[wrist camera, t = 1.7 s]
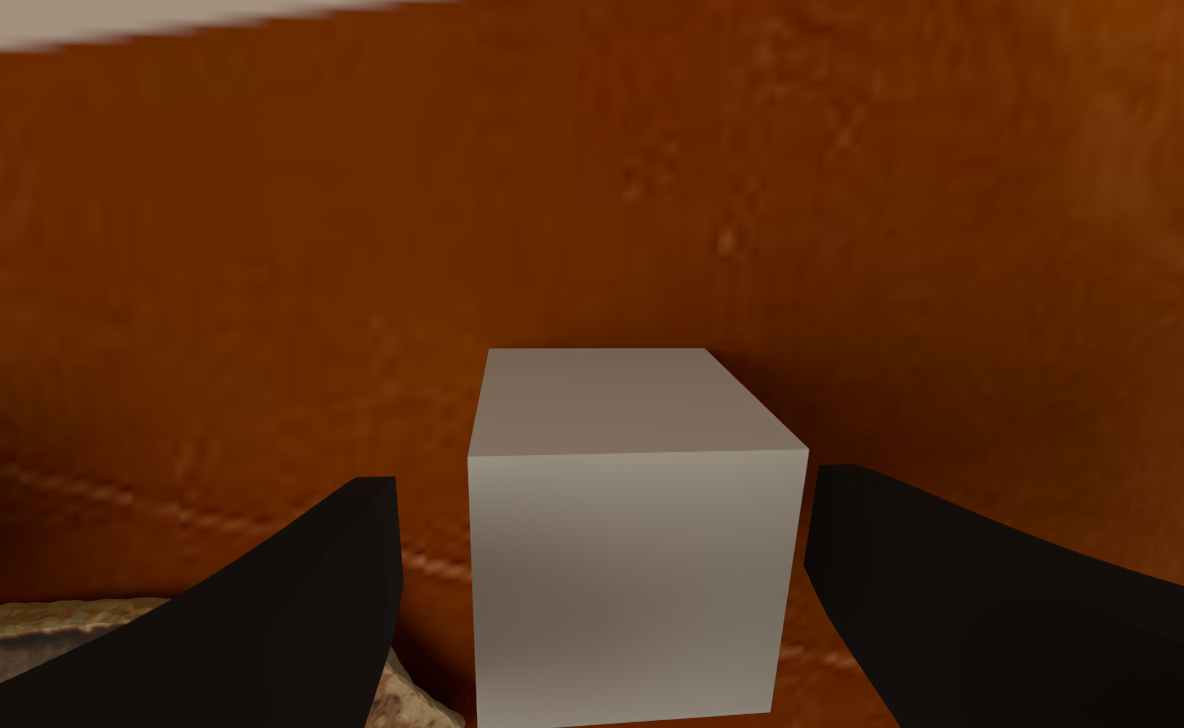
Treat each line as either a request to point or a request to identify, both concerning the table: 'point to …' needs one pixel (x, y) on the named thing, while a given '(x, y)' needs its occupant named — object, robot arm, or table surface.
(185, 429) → the table surface
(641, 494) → the cream block
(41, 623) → the shard
